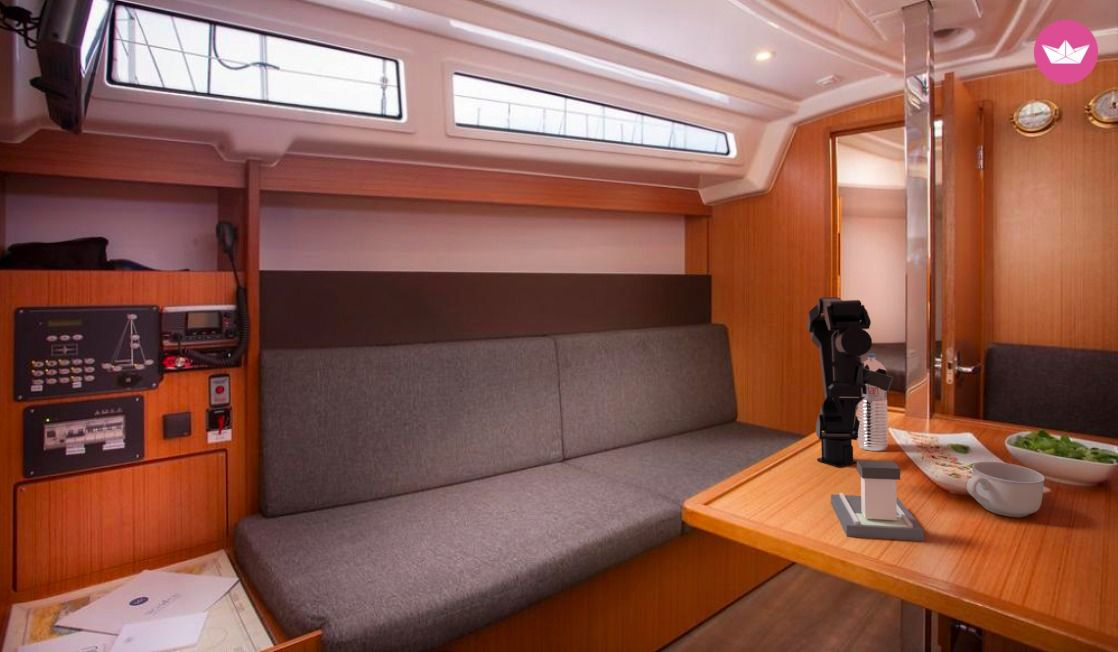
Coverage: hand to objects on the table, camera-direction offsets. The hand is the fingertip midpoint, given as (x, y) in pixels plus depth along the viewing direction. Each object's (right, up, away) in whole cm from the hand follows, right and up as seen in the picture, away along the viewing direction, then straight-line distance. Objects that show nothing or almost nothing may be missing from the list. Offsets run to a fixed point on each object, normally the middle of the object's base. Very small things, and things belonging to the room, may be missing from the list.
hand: (850, 429), depth 124 cm
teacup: (+20, -13, -16) cm, 29 cm away
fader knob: (-6, -12, -21) cm, 25 cm away
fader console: (-4, -14, -17) cm, 23 cm away
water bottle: (+19, -10, +26) cm, 34 cm away
